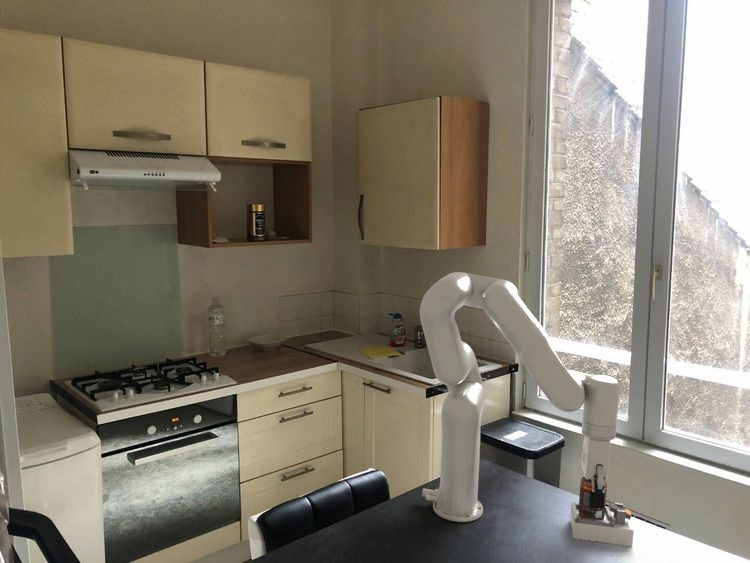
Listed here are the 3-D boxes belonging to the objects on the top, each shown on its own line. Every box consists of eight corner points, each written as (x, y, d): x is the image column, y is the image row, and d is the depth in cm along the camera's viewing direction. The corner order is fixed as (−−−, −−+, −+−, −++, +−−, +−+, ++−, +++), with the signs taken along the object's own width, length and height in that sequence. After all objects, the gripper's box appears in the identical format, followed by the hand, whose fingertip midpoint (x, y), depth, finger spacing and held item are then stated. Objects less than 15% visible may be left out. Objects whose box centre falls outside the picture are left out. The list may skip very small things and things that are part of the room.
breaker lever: (609, 510, 144) (612, 506, 144) (608, 506, 146) (610, 501, 146) (629, 519, 143) (632, 515, 143) (627, 515, 146) (630, 510, 145)
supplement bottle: (606, 523, 143) (610, 477, 142) (579, 520, 144) (583, 475, 143) (602, 511, 149) (605, 467, 147) (576, 508, 150) (579, 464, 149)
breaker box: (573, 538, 144) (575, 509, 143) (570, 521, 152) (572, 493, 151) (632, 546, 141) (634, 517, 140) (625, 528, 149) (628, 500, 148)
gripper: (578, 414, 153) (573, 479, 155) (586, 440, 136) (581, 513, 138) (609, 417, 151) (604, 483, 153) (622, 444, 134) (616, 517, 137)
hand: (593, 497), depth 146 cm, fingers open, 9 cm apart
